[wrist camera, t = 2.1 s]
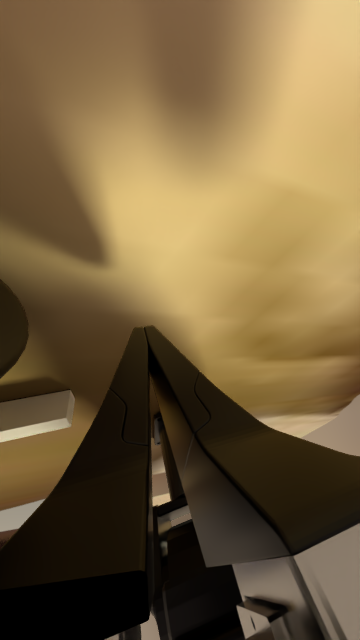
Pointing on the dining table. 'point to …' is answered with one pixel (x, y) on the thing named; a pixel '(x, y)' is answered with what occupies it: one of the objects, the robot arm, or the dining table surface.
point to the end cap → (11, 329)
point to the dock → (36, 415)
